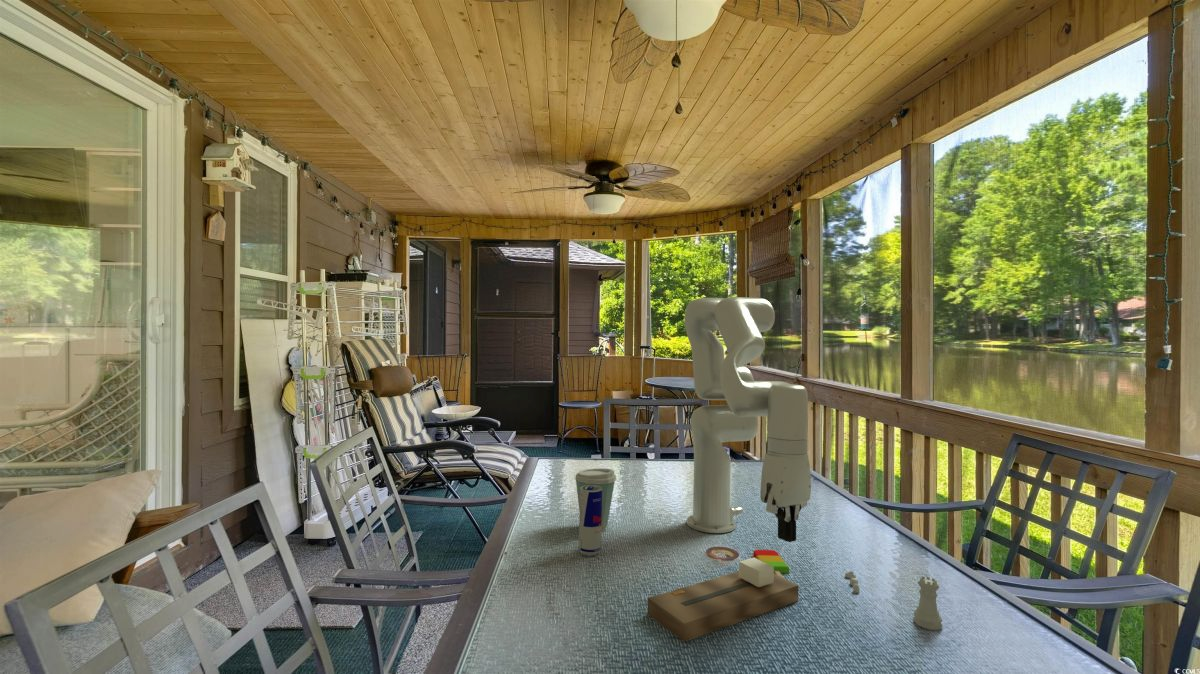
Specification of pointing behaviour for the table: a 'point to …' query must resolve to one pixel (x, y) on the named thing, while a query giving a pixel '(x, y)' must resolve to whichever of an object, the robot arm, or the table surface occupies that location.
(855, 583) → the game pieces
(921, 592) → the rook chess piece
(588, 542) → the beverage can
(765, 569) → the fader knob
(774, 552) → the popsicle
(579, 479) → the disposable coffee cup
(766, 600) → the console
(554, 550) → the table surface
